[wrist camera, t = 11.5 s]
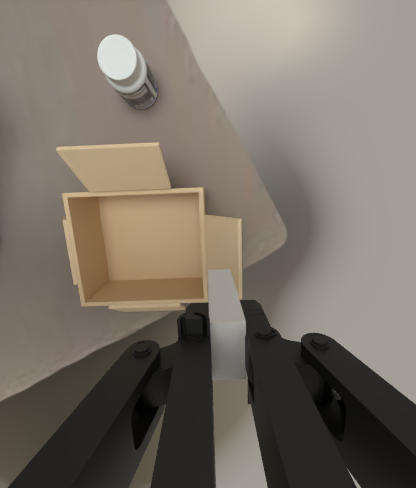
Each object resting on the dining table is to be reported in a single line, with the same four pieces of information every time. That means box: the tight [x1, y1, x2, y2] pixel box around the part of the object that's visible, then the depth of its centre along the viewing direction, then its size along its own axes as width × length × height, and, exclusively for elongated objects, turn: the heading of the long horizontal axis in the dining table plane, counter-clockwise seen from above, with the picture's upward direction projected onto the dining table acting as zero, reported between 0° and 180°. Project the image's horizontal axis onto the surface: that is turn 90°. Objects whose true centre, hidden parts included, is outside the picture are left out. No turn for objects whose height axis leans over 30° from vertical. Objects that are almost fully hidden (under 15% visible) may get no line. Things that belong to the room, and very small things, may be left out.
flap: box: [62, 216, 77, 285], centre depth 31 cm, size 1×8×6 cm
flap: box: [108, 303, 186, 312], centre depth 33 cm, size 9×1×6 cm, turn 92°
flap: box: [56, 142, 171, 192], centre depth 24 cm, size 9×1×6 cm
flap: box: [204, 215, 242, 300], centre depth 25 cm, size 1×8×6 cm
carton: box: [62, 187, 208, 306], centre depth 32 cm, size 16×14×8 cm
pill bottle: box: [97, 35, 158, 109], centre depth 28 cm, size 5×5×8 cm
